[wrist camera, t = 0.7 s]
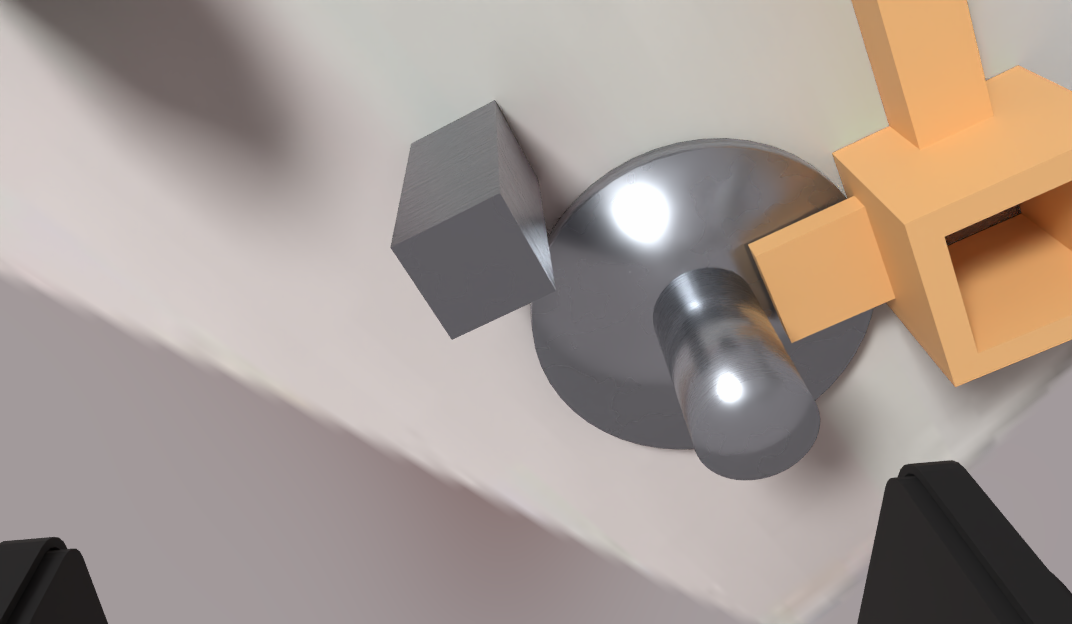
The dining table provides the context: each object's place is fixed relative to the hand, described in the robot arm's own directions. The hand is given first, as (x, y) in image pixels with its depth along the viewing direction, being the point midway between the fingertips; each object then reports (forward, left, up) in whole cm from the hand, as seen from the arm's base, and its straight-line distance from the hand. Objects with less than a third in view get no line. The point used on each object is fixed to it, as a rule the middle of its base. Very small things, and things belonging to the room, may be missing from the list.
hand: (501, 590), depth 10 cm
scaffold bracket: (-13, +9, -28) cm, 32 cm away
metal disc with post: (-3, +15, -28) cm, 32 cm away
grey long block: (+3, +4, -28) cm, 29 cm away
